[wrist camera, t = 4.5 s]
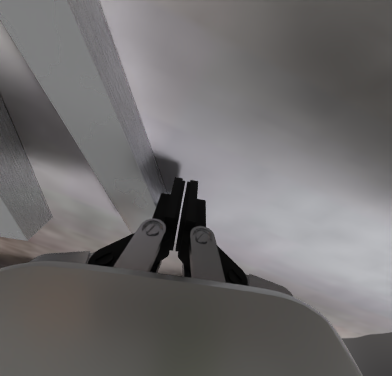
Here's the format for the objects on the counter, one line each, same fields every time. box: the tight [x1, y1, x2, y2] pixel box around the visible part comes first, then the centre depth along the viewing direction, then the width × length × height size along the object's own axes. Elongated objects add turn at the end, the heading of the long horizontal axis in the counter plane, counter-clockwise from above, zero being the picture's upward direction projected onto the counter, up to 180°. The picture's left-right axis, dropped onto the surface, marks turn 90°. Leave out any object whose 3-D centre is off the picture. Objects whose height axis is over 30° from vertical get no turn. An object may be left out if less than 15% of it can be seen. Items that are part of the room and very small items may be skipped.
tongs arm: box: [0, 0, 167, 234], centre depth 9 cm, size 20×3×3 cm, turn 11°
